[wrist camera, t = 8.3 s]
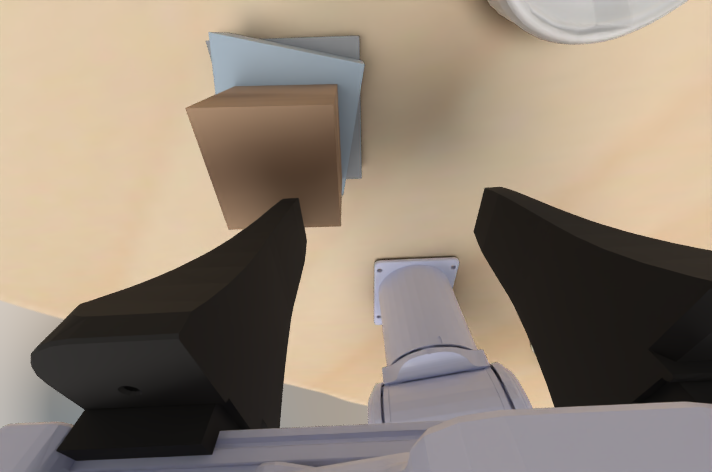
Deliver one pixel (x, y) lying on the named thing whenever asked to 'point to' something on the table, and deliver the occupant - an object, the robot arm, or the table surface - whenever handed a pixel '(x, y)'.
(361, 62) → the tower top
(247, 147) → the walnut cube
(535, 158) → the table surface
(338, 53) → the tower base
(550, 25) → the ramekin
